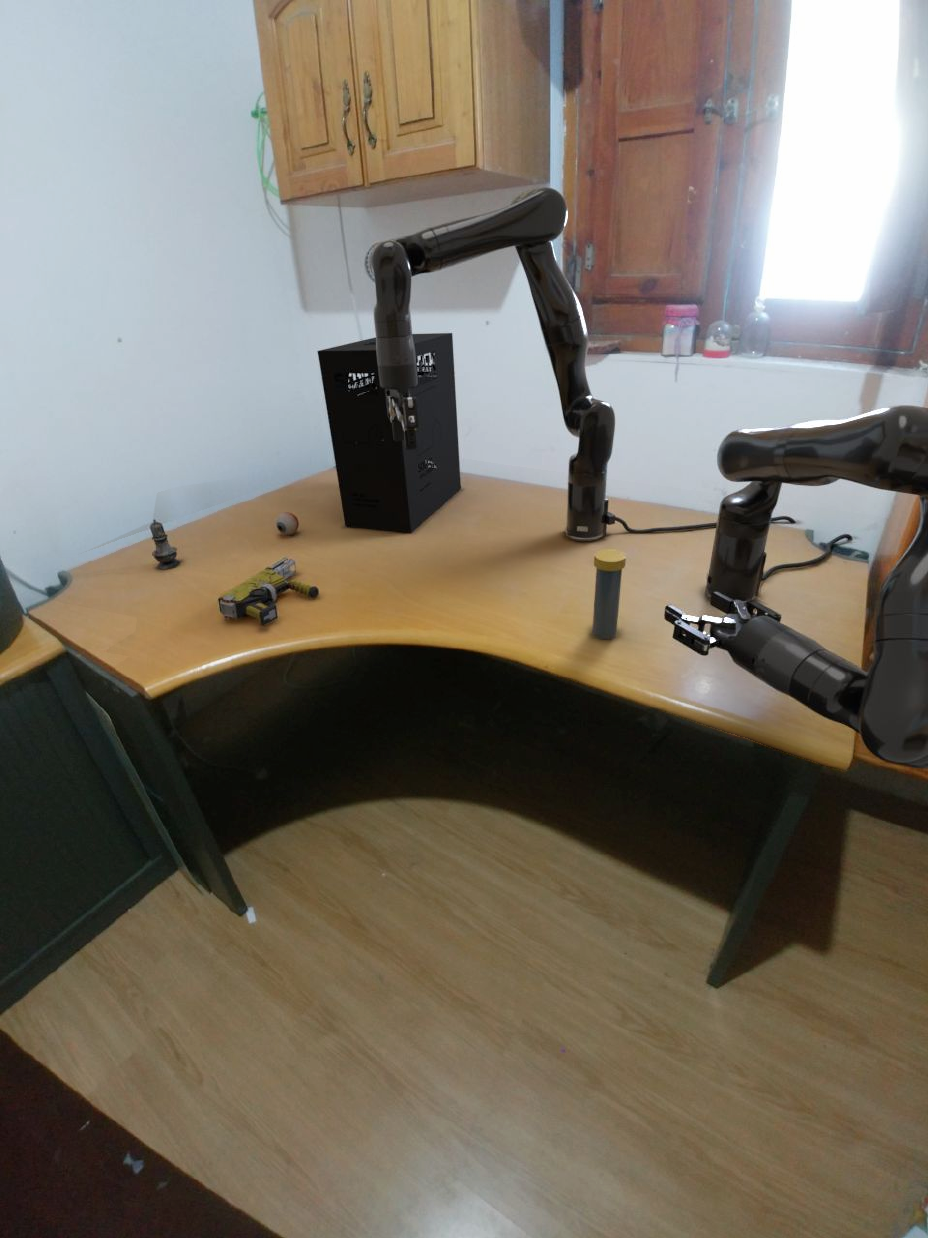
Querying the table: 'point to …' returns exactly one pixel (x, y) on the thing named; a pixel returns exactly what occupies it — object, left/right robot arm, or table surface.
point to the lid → (609, 560)
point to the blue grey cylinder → (606, 603)
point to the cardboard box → (363, 436)
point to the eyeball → (287, 523)
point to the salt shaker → (163, 547)
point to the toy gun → (262, 593)
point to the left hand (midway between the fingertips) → (404, 444)
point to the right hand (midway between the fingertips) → (689, 604)
